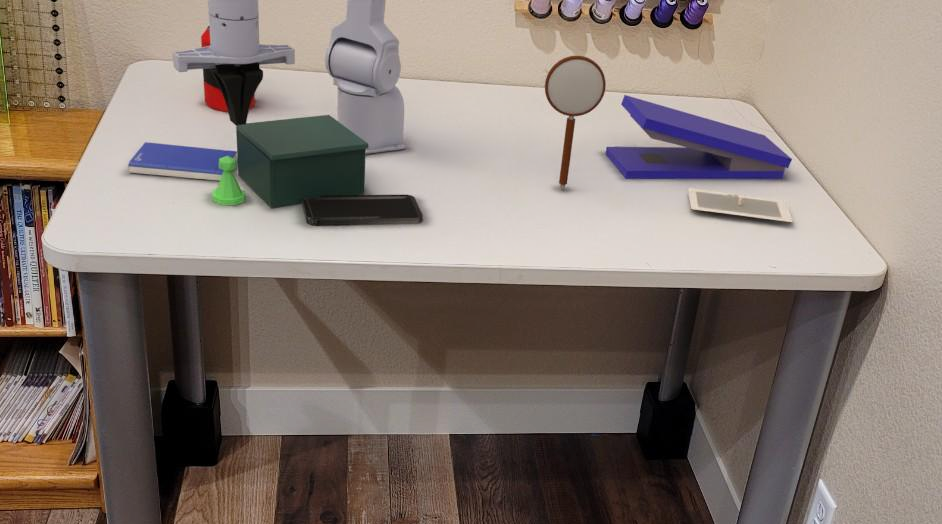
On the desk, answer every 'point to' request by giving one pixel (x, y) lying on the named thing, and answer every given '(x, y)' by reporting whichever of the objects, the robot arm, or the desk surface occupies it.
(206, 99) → the soda can
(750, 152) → the stapler
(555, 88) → the magnifying glass
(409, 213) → the phone
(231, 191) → the game piece
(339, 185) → the bin
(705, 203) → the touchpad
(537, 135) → the desk surface
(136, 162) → the hard drive
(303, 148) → the bin lid
